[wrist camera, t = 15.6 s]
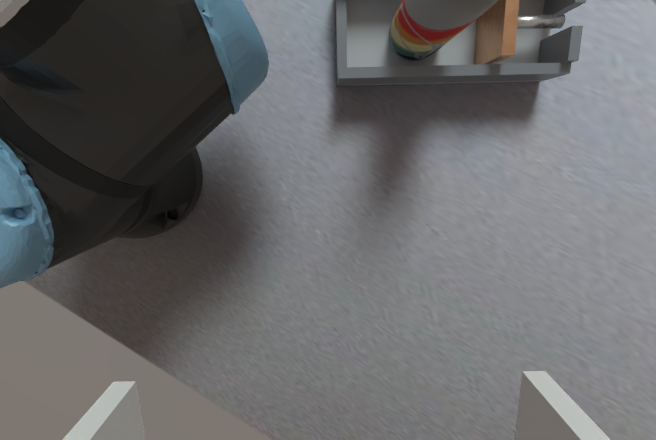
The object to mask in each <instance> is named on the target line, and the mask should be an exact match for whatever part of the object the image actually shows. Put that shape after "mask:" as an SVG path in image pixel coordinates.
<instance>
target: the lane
mask: <svg viewBox="0 0 656 440" xmlns="http://www.w3.org/2000/svg"><path fill="white" fill-rule="evenodd" d="M402 1H403V0H335V12H336V76H337V86H364V85H409V84H454V83H499V82H540V81H544V80H548V79H551V78H555V77H558V76H562V75H566V74H569V73H570V69H571V62H574V61H577V60H579V52H580V44H581V36H582V28H583V26H571V27H569V28H567V29H565V30H563V31H560V32H558V33H556V34H554V35H552V36H550V32H551V29H517V33H516V44H515V55H514V56H512V57H509V58H507V59H505V60H503V61H501V62H498V63H496V64H479V65H475V52H476V37H477V22H478V18H477V19H476V20H475V21H473V22H472V23H471V24H470V25H468V26H467V27H466V28H465V29H463V30H462V31H461V32H460V33H458V34H457V35H456V36H455V37H453V38H452V39H451V40H450V41H448V42H447V43H446V44H445V45H443V46H442V47H441V48H440V49H439V50H437V51H436V52H435V53H433V54H432V55H431V56H429V57H427V58H425V59H423V60H420V61H409V60H405V59H403V58H402V57H400V56H399V55H398V54H397V53H396V52H395V51H394V49H393V47H392V45H391V42H390V35H389V33H390V26H391V23H392V20H393V18H394V16H395V14H396V12H397V10H398V8H399V7H400V5H401V3H402ZM585 2H586V0H519V10H518V15H558V14H564V13H566V12H568V11H570V10H572V9H574V8H576V7H578V6H580V5H581V4H583V3H585Z"/></svg>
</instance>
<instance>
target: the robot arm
mask: <svg viewBox="0 0 656 440" xmlns="http://www.w3.org/2000/svg"><path fill="white" fill-rule="evenodd" d="M268 65H269V61H268V53H267V50H266V47H265V44H264V42H263V39H262V37H261V35H260V33H259V31H258V29H257V27H256V25H255V23H254V21H253V19H252V17H251V15H250V14H249V12H248V10H247V8H246V6H245V5H244V3H243V1H242V0H0V288H1V287H4V286H7V285H10V284H12V283H15V282H18V281H24V280H30V279H33V278H34V277H35V276H38V275H40V274H42V273H43V272H44V271H45V270H46V269H48V268H50V267H52V266H54V265H57V264H59V263H61V262H63V261H65V260H67V259H70V258H72V257H74V256H76V255H78V254H80V253H82V252H85V251H87V250H89V249H91V248H93V247H95V246H97V245H100V244H102V243H104V242H106V241H108V240H110V239H112V238H115V237H121V238H144V237H150V236H154V235H157V234H160V233H162V232H164V231H166V230H168V229H170V228H172V227H173V226H175V225H177V224H178V223H180V222H181V221H182V220H183V219H184V218H186V217H187V215H188V214H189V213H190V212H191V210H192V209H193V207H194V206H195V204H196V202H197V200H198V197H199V194H200V190H201V185H202V168H201V162H200V158H199V155H198V152H197V150H196V147H195V146H197V145H198V144H199V143H200V142H201V141H202V140H203V139H204V138H205V137H206V136H207V135H208V134H209V133H210V132H212V131H213V130H214V129H215V128H216V127H217V126H218V125H219V124H220V123H221V122H222V121H223V120H224V119H225V118H227V117H228V116H229V115H230V114H233V115H234V114H236V113H237V112H238V111H239V108H240V105H241V104H242V103H243V102H244V101H245V100H246V99H247V98H248V97H249V96H250V95H251V94H252V93H253V92H254V91H255V90H256V89H257V88H258V87H259V85H260V84H261V83H262V82H263V81H264V79H265V77H266V75H267V72H268ZM63 440H146V439H145V433H144V428H143V421H142V415H141V408H140V403H139V396H138V390H137V384H136V381H124V382H123V381H121V382H113V383H112V384H111V385H110V386H109V388H107V390H106V391H105V392H104V393H103V394H102V395H101V396H100V398H99V399H98V400H97V401H96V402H95V403H94V404H93V406H92V407H91V408H90V409H89V410H88V411H87V412H86V414H85V415H84V416H83V417H82V418H81V419H80V420H79V421H78V423H77V424H76V425H75V426H74V427H73V428H72V430H71V431H70V432H69V433H68V434H67V435H66V436H65V437H64V439H63ZM515 440H610V439H609V438H608V437H607V435H606V434H605V433H604V432H603V431H602V430H601V429H600V428H599V427H598V426H597V425H596V424H595V423H594V422H593V421H592V420H591V419H590V418H589V417H588V416H587V415H586V414H585V412H584V411H583V410H582V409H581V408H580V407H579V406H578V405H577V404H576V403H575V402H574V401H573V400H572V399H571V398H570V397H569V396H568V395H567V394H566V393H565V392H564V391H563V389H562V388H561V387H560V386H559V385H558V384H557V383H556V382H555V381H554V380H553V379H552V378H551V377H550V376H549V375H548V374H547V373H546V372H545V371H522V379H521V388H520V397H519V405H518V414H517V423H516V432H515Z"/></svg>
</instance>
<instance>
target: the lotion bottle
mask: <svg viewBox="0 0 656 440" xmlns="http://www.w3.org/2000/svg"><path fill="white" fill-rule="evenodd" d="M497 1H498V0H403V1H402V3H401V5H400V7H399V8H398V10H397V12H396V14H395V16H394V18H393V20H392V23H391V26H390V33H389V35H390V42H391V45H392V47H393V49H394V51H395V52H396V53H397V54H398V55H399V56H400V57H402V58H403V59H405V60H409V61H420V60H423V59H425V58H427V57H429V56H431V55H432V54H433V53H435V52H436V51H437V50H439V49H440V48H441V47H442V46H443V45H445V44H446V43H447V42H448V41H450V40H451V39H452V38H453V37H455V36H456V35H457V34H458V33H460V32H461V31H462V30H463V29H465V28H466V27H467V26H468V25H470V24H471V23H472V22H473V21H475V20H476V19H477V18H478V17H480V16H481V15H482V14H483V13H484V12H486V11H487V10H488V9H489V8H490V7H492V6H493V5H494V4H495V3H496V2H497Z"/></svg>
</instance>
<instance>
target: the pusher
mask: <svg viewBox="0 0 656 440" xmlns="http://www.w3.org/2000/svg"><path fill="white" fill-rule="evenodd" d="M518 10H519V0H498V1H497V2H496V3H495V4H494V5H493V6H492V7H490V8H489V9H488V10H487V11H486V12H484V13H483V14H482V15H481V16H480V17H478V22H477V37H476V52H475V65H479V64H496V63H498V62H501V61H503V60H505V59H507V58H509V57H512V56H514V55H515V44H516V33H517V29H552V28H561V27H562V26H563V25H564V22H565V15H564V14H558V15H518Z"/></svg>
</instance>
